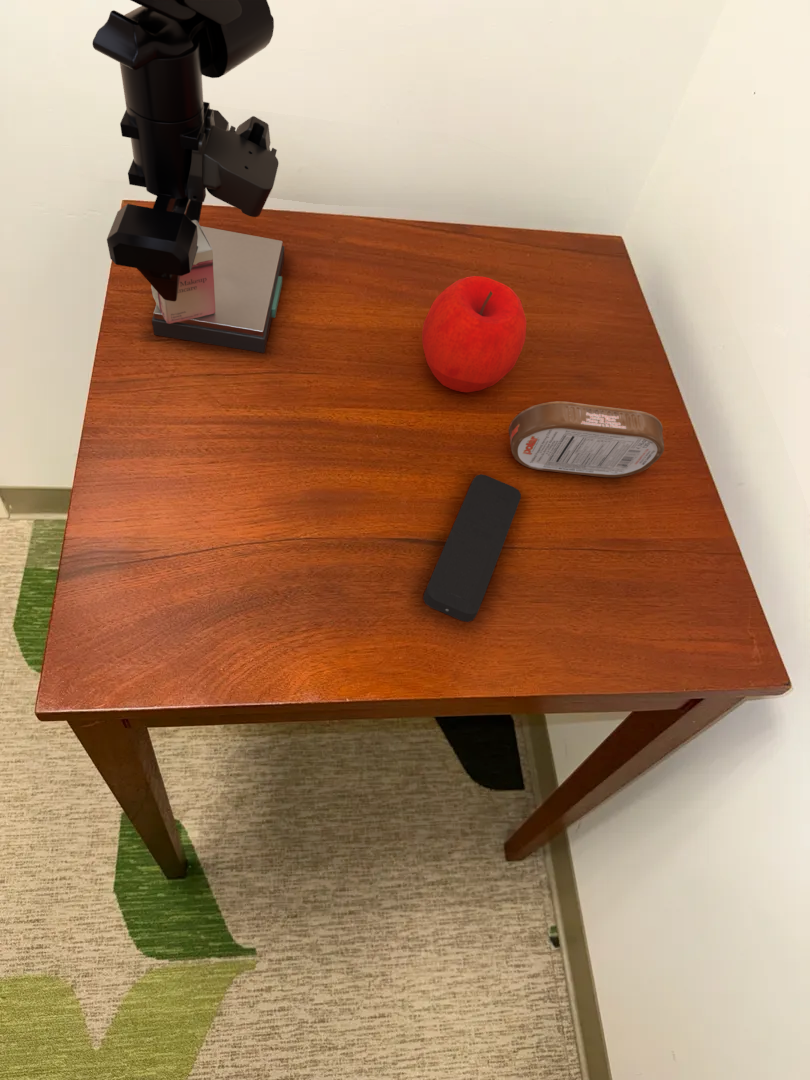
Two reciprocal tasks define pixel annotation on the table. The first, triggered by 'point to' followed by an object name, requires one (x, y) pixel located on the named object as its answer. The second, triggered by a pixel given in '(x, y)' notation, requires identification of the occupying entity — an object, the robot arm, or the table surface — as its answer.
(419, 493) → the table surface
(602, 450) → the tin
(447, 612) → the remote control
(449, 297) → the apple
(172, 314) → the small box
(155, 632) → the table surface
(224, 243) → the scale
